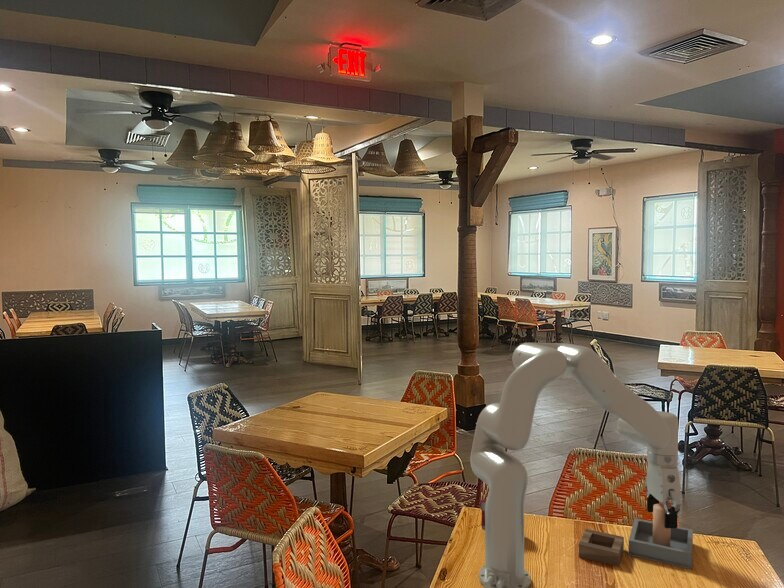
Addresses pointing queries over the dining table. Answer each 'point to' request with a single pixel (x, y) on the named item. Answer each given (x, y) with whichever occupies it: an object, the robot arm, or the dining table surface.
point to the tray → (672, 555)
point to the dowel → (660, 526)
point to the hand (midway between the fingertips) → (661, 519)
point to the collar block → (601, 547)
